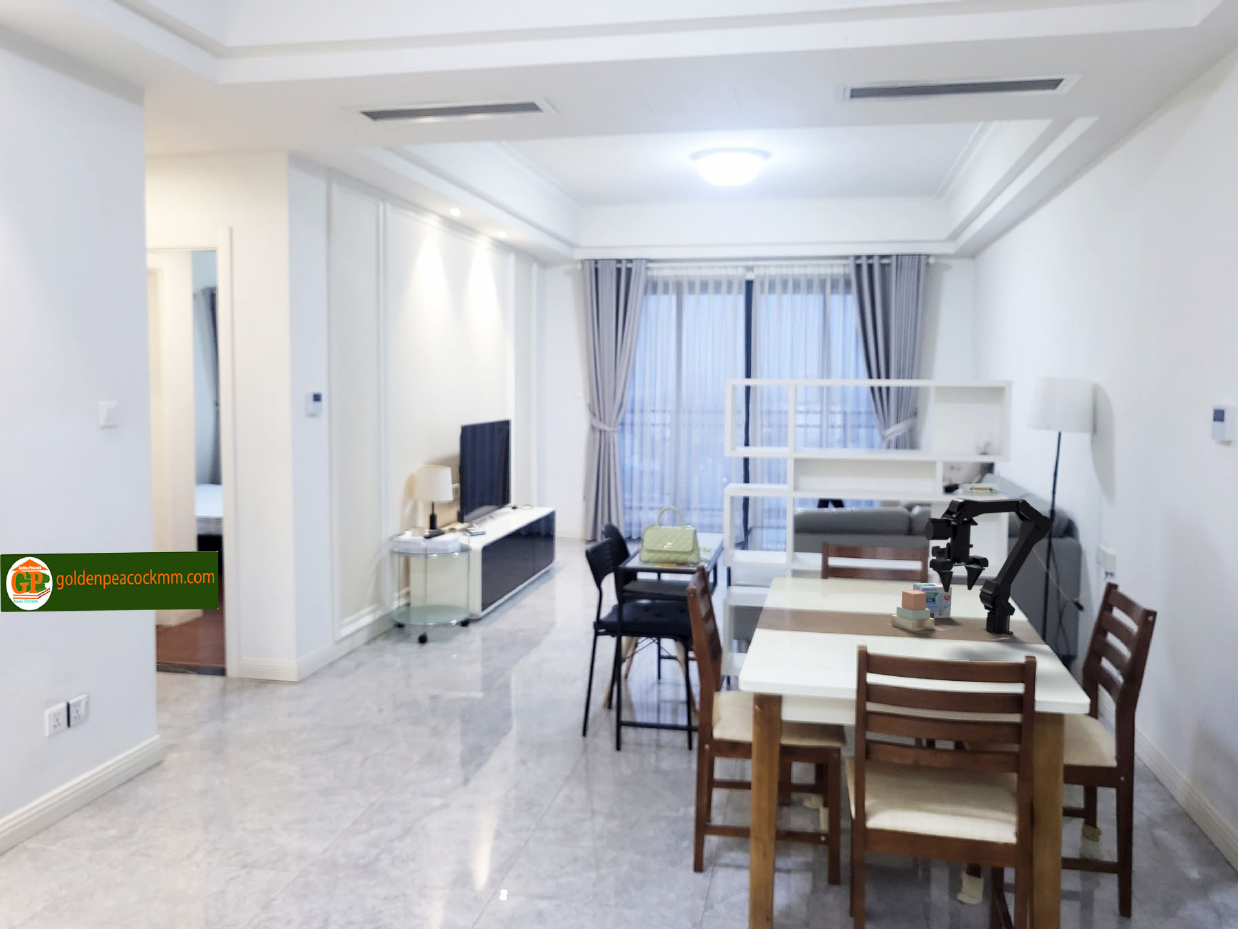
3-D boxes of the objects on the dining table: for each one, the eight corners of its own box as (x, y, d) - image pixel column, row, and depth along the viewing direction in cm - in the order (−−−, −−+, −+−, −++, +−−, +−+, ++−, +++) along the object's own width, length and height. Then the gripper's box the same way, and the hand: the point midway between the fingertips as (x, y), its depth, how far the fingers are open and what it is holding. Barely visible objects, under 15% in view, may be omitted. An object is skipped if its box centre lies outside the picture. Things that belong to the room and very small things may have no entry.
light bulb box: (920, 620, 309) (921, 587, 308) (910, 615, 316) (912, 582, 315) (951, 619, 311) (952, 586, 310) (941, 614, 317) (942, 582, 317)
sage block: (913, 613, 303) (914, 604, 302) (929, 618, 296) (930, 609, 296) (896, 615, 300) (896, 606, 299) (912, 620, 293) (912, 611, 293)
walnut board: (925, 620, 308) (925, 619, 308) (958, 631, 296) (958, 629, 296) (884, 625, 301) (884, 623, 301) (915, 636, 288) (915, 634, 288)
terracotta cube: (914, 605, 301) (914, 589, 301) (925, 609, 297) (926, 593, 296) (901, 607, 299) (902, 591, 298) (913, 610, 294) (913, 594, 294)
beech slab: (913, 621, 304) (913, 612, 304) (934, 628, 296) (934, 618, 296) (891, 624, 300) (891, 615, 300) (911, 631, 292) (911, 621, 292)
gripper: (963, 534, 302) (961, 584, 303) (917, 537, 294) (915, 588, 295) (991, 540, 292) (988, 591, 293) (944, 543, 284) (941, 595, 285)
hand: (957, 591), depth 292 cm, fingers open, 9 cm apart
